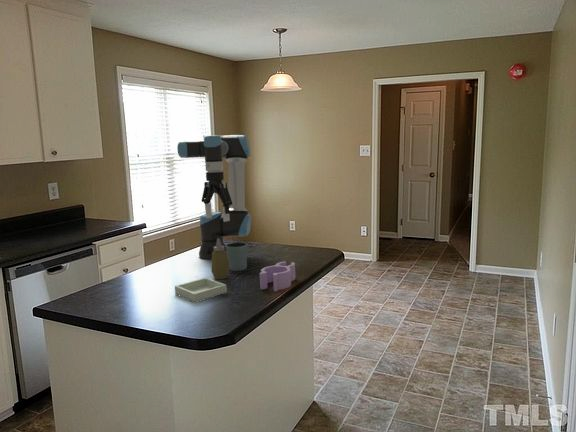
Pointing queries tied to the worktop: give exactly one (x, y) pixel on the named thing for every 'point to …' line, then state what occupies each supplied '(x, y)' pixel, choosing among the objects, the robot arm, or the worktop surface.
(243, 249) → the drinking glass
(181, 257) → the worktop surface
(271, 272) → the clip
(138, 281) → the worktop surface
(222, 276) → the squeeze bottle
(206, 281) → the tray
